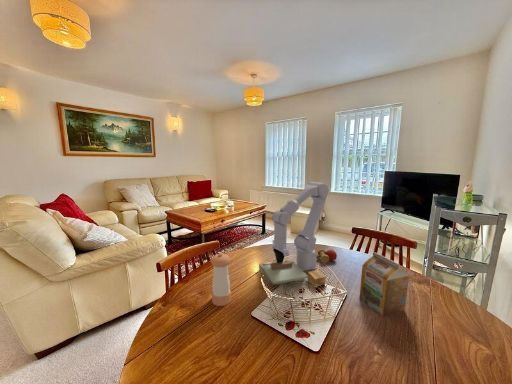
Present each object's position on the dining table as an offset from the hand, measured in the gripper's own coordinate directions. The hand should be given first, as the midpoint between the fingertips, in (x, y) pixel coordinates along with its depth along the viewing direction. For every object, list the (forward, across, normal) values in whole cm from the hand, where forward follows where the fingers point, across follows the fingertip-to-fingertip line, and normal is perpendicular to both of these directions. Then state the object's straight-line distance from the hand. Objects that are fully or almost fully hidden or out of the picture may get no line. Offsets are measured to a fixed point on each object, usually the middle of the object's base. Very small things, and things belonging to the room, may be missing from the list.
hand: (279, 264), depth 100 cm
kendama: (+6, -8, +27) cm, 29 cm away
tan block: (+6, +11, +13) cm, 18 cm away
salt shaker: (+6, +10, -29) cm, 31 cm away
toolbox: (+6, 0, 0) cm, 6 cm away
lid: (+2, +5, 0) cm, 5 cm away
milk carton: (+6, +30, +29) cm, 42 cm away
